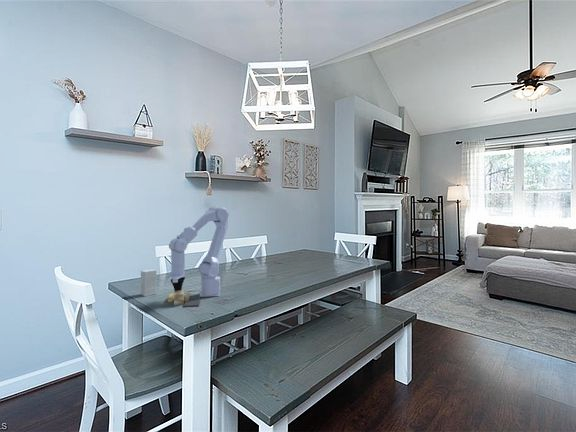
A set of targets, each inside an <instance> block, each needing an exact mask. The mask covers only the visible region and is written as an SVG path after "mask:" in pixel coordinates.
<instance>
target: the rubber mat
mask: <svg viewBox="0 0 576 432" xmlns="http://www.w3.org/2000/svg"><path fill="white" fill-rule="evenodd" d="M200 304H201V299H200V300H199V299H198V300H188V301H184V304H183V308H188V307H189V308H193V307H194V308H195V307H200Z"/></svg>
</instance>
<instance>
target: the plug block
mask: <svg viewBox="0 0 576 432" xmlns="http://www.w3.org/2000/svg"><path fill="white" fill-rule="evenodd" d="M184 291H185V290H184V289H182V290H178V291H174V292H173V294H174V299H173V305H174V306H179V305H184V304H185V301H184V296H185V292H184Z"/></svg>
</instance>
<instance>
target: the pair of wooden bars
mask: <svg viewBox="0 0 576 432" xmlns="http://www.w3.org/2000/svg"><path fill="white" fill-rule="evenodd" d="M190 294H191V293H190V292H186V293H185V294H184V302H186V301H190V297H191V296H190ZM173 301H174V293H170V294H169V295H168V297H167V303H172V302H173Z"/></svg>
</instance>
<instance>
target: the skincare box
mask: <svg viewBox="0 0 576 432" xmlns="http://www.w3.org/2000/svg"><path fill="white" fill-rule="evenodd" d="M157 282H158V281H157V269H154V268H150V269H146V270H145V269H144V270H141V271H140V295H141V296H143V297H148V296H152V295H157V294H158V292H157V290H158V289H157Z"/></svg>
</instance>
